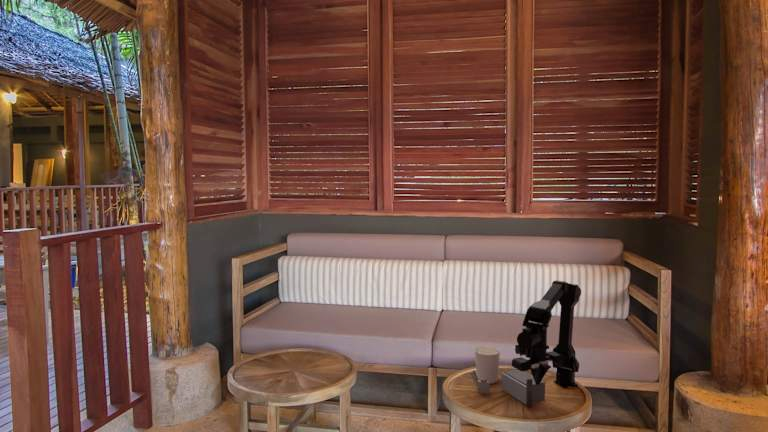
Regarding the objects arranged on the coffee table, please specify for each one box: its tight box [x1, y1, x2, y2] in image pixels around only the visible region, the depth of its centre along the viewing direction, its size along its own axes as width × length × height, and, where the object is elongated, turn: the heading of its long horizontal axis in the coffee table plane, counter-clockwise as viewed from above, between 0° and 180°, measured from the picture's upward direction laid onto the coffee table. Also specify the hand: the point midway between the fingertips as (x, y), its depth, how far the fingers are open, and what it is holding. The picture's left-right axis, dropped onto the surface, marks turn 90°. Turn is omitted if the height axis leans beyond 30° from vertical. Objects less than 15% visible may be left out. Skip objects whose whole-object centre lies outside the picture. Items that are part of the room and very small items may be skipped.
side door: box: [501, 372, 533, 408], centre depth 190 cm, size 2×17×10 cm, turn 23°
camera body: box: [503, 368, 546, 405], centre depth 193 cm, size 9×14×7 cm, turn 24°
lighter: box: [469, 369, 490, 395], centre depth 196 cm, size 7×2×8 cm, turn 69°
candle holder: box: [474, 345, 501, 385], centre depth 207 cm, size 10×10×12 cm
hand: (537, 384), depth 184 cm, fingers closed
